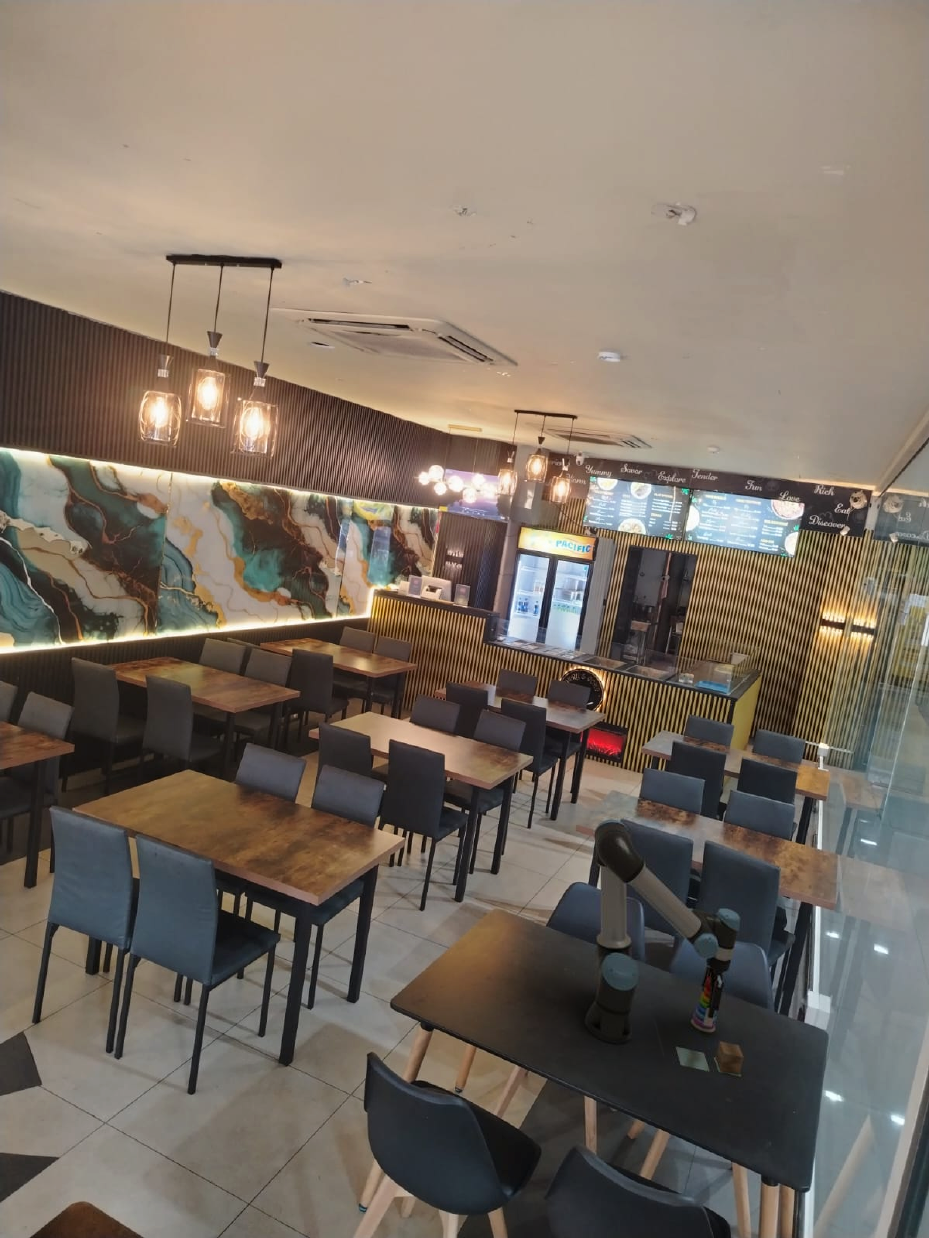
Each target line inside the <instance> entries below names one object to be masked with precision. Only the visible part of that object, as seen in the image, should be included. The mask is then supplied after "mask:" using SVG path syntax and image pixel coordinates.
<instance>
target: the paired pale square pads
mask: <svg viewBox="0 0 929 1238" xmlns="http://www.w3.org/2000/svg"><path fill="white" fill-rule="evenodd" d="M675 1050H676V1053H677V1056H678V1059H679V1064H680V1066H683V1067H688V1068H691V1069H695V1070H696V1069H697V1070H701V1071H705V1072H710V1068H709V1065H708V1062H707V1058H706V1056H705V1053H704V1052H700V1051H696V1050H691V1049H688V1048H683V1047H678V1046H675ZM713 1059H714V1062H715V1065H716V1068H717V1070H718V1072H719V1073H723V1074H727V1075H732V1076H736V1077H741V1078H742V1074H741V1073H740V1075H736V1074H732V1073H727V1072H723V1071H720V1069H719V1066H718V1064H717V1061H716V1056H715V1057H713Z"/></svg>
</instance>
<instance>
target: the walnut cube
mask: <svg viewBox="0 0 929 1238" xmlns="http://www.w3.org/2000/svg"><path fill="white" fill-rule="evenodd" d="M717 1047H718V1048H717V1051H716V1056H715V1058H716V1061H717V1064H718V1066H719V1069H720V1071H723V1072H727V1073H732V1074H736V1075H740V1074H741V1071H742V1065H743V1062H744V1054H743V1052H742V1050H741V1048H740V1045H739V1044H734V1043H729V1042H724V1041H721V1040H720V1041H719V1043H718V1046H717ZM727 1073H726V1074H727Z"/></svg>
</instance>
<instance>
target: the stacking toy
mask: <svg viewBox="0 0 929 1238" xmlns="http://www.w3.org/2000/svg"><path fill="white" fill-rule="evenodd" d="M712 984H715V983H712ZM706 986H707V987H705V988H704V992H703V991H702V992H703V993H701V995H700V996H701V997H700V999H699V1003H697V1006H696V1009H695V1012H693V1014H692V1018H691V1020H690V1023H691V1024H692V1025H693V1026H694V1027H695V1028H696V1029H697V1030H699V1031H701V1032H705V1033H714V1032H715V1030H716V1021H717V1014H718V1011H715V1015H714V1019H713V1023H712V1027H711V1026H707V1025H704V1024H703V1022H704V1018H705V1014H706V1009H707V1007H706V1005H708V1006H709V999H710V990H711V986H710V976H709V977H708V978H707V979H706Z"/></svg>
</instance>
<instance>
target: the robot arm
mask: <svg viewBox="0 0 929 1238" xmlns="http://www.w3.org/2000/svg"><path fill="white" fill-rule="evenodd" d="M593 836H594V837H593V838H594V841H595V863H596V864H597V866H599V867H600V933H599V934H597V936H596V947H595V960H596V965H597V972H598V985H597V990H596V995H595V998H594V1002H593V1003H592V1005H590V1008H589V1009H588V1011H587V1012H586V1016H585V1020H584V1025H585V1027H586V1029H587V1030H588V1032H589V1033H590V1034H591V1035H592V1036H594V1037H595V1038H597V1039H599V1040H601V1041H603V1042H606V1043H610V1044H615V1045H616V1044H624V1043H627V1042H628V1041H629V1040H630V1039H631V1037H632V1032H633V1027H632V1018H631V1011H632V1006H633V1001H634V997H635V993H636V987H637V985H638V981H639V972H640V971H639V967H638V966H639V965H638V964H637V963H636V961H635V960H633V959H632V938H631V937H630V936H629V934H627V931H628V930H627V885H630V886H631V887H632V888H633V889H634V890H635V891H636V892H637V893H638V894H639V895H640V896H642V898H643V899H644V900H645V901H646V902H648V903H649V905H651V907H653V908H654V909H655V910H656V911H657V912H658V913H659V915H661V916H662V917H663V918H664V919H665V920H666V921H667V922H668V923H669V924H670V925H671V926H672V927H673V928H674V929H675V930H677V932H678V933H679V934H680V935H681V936H683V937H684V939H686V940H687V942H688V943H690V945H692V947H693V949H694V951H695V952H696V954H697V955H698V956H699V957H701V958H703V959H706V961H705V962H706V968H705V972H704V975H703V979H702V982H701V988H702V993H703V992H704V988H705V987H707V986H706V979H707V978H708V977H709V976H710V986H711V990H710V999H709V1006H708V1005H706V1007H707V1009H706V1014H705V1018H704V1022H703V1024H704V1025H707V1026H711V1027H712V1023H713V1019H714V1015H715V1011H717V1012H719V1010H720V1005H721V998H722V993H723V989H724V986H725V982H724V981H723V979H724V974H723V973H725V972H728V971H729V969H730V966H731V962H732V960H731V959H732V957H733V953H734V952H735V951H736V949H735V945H736V941H737V936H738V934H739V931H740V924H741V923H740V922H741V917H740V915H739V914H738V913H737V912H735V911H734V910H732V909H729V908H719V909H718V911H717V912H716V913H710V912H706V911H701V910H698V909H694V908H689V907H687V905H685V904H684V902H683V901H681V900H680V899H679V898H678V897H677V896H676V895H675V894H674V893H673V892H672V891H671V890H670V889H669V887H667V886H666V885H665V884H664V883H663V882H662V881H661V880H660V879H659V878H658V877H656V875H655V874H653V872H651V870H649V868H648V867H646V861H645V860H644V859H643V858H642V857H641V856H640V855H639V853H638V852H637V850H636V849H635V847H634V845H633V841H632V839H631V835H630V830H629V829H628V828H627V826H626V825H625V824H624V823H623V822H621V821H620V820H617V819H606V820H604V821H602V822H601V823H599V824H598V825H597V827H596V828H595V831H594V835H593ZM712 983H715V984H712ZM702 993H701V994H702Z"/></svg>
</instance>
